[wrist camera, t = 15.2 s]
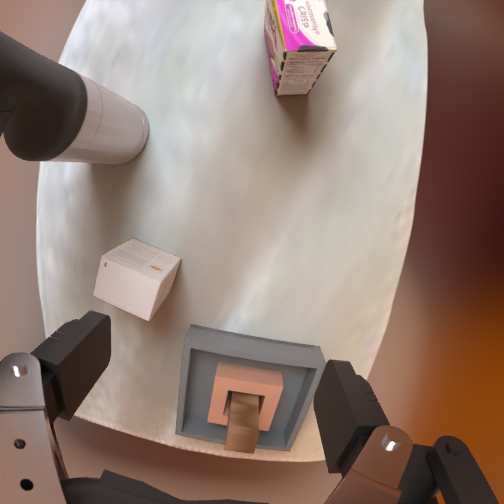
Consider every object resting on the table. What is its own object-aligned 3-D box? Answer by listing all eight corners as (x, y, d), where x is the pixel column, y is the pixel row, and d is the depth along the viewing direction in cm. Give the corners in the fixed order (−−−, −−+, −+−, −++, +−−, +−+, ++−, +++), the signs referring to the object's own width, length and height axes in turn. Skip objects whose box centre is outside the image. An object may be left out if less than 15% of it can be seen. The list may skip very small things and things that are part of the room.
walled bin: (180, 415, 50) (175, 434, 45) (191, 324, 45) (184, 340, 40) (287, 432, 50) (289, 451, 45) (319, 346, 46) (325, 363, 41)
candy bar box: (261, 30, 35) (264, -37, 19) (296, 28, 35) (315, -38, 19) (272, 98, 38) (284, 51, 22) (309, 95, 37) (340, 50, 21)
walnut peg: (230, 397, 47) (224, 449, 35) (233, 379, 46) (228, 432, 34) (253, 401, 47) (253, 453, 36) (258, 383, 46) (259, 436, 35)
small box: (123, 271, 43) (90, 296, 33) (132, 236, 42) (99, 254, 32) (171, 292, 44) (148, 323, 34) (182, 257, 43) (162, 282, 32)
